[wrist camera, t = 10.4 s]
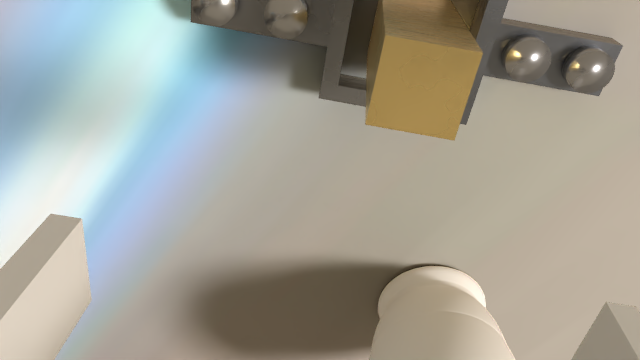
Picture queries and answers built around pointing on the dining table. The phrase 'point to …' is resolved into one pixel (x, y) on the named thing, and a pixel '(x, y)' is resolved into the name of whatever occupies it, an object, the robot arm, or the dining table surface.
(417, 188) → the dining table surface
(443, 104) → the gold rectangular block
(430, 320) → the jar
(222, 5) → the knobbed square frame
